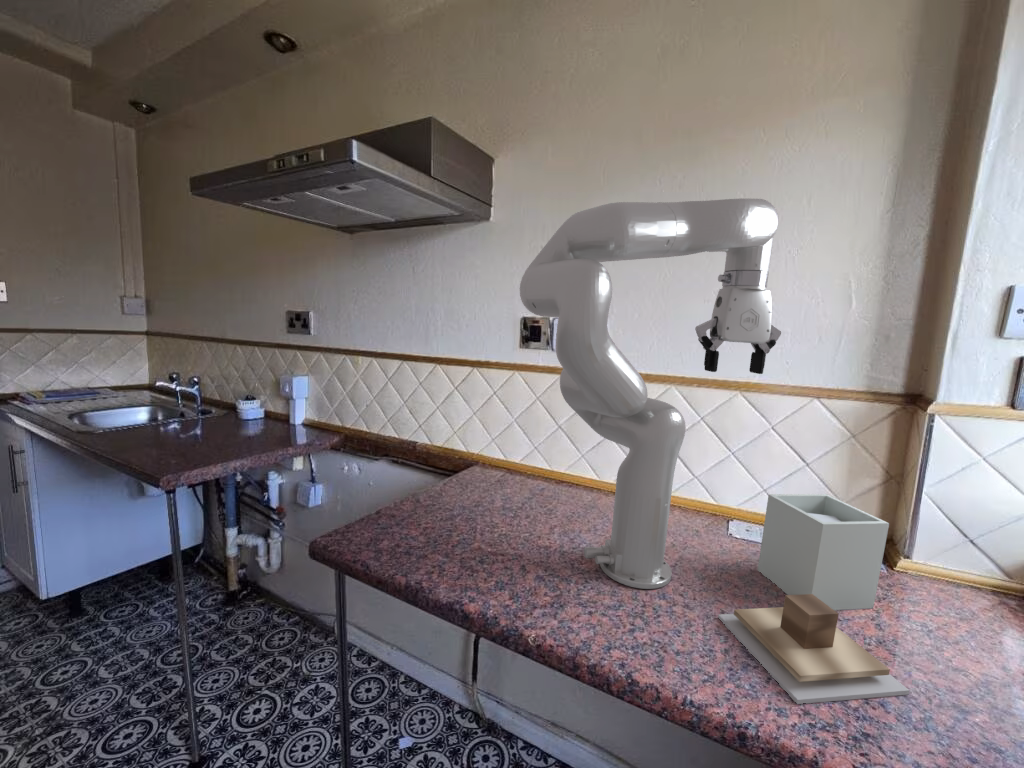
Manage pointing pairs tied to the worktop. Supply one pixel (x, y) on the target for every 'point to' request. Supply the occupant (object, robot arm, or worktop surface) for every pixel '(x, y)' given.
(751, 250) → the robot arm
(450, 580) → the worktop surface
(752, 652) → the mat
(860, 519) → the box
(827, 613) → the lid
